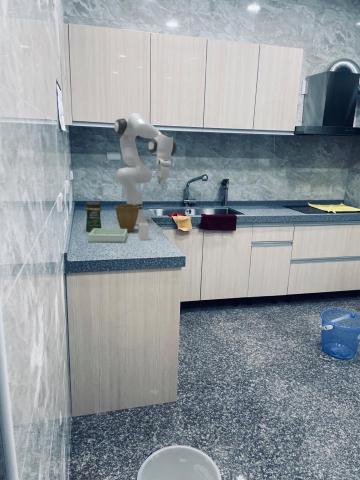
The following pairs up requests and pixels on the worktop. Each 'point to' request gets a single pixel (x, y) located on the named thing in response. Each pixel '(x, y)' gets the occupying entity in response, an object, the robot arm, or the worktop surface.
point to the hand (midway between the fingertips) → (160, 184)
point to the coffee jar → (93, 215)
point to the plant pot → (127, 216)
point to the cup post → (143, 231)
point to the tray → (112, 236)
